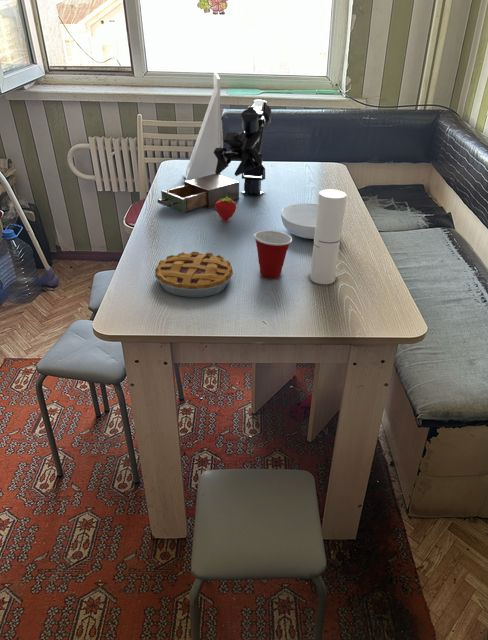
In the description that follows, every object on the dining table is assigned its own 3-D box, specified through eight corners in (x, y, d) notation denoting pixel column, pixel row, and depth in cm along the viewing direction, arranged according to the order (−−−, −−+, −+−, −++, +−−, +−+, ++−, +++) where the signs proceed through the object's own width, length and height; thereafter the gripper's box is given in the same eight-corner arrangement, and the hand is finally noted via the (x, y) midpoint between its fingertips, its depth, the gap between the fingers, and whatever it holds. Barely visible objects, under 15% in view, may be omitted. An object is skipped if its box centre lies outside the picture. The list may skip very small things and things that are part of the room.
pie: (163, 262, 157) (162, 246, 155) (236, 266, 157) (236, 250, 155) (147, 298, 140) (146, 281, 137) (230, 302, 140) (230, 285, 137)
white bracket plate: (183, 172, 230) (179, 69, 207) (216, 172, 232) (216, 70, 209) (185, 187, 214) (180, 77, 191) (220, 187, 216) (220, 78, 193)
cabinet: (208, 208, 196) (208, 190, 192) (185, 199, 203) (184, 181, 199) (238, 198, 206) (239, 181, 202) (215, 190, 213) (215, 173, 209)
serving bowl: (267, 232, 180) (268, 212, 176) (305, 217, 193) (307, 199, 189) (315, 251, 168) (317, 231, 164) (352, 234, 181) (355, 215, 177)
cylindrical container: (327, 286, 149) (339, 200, 135) (305, 279, 152) (314, 194, 138) (338, 277, 154) (350, 193, 140) (317, 270, 157) (326, 187, 143)
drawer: (174, 216, 186) (173, 202, 183) (152, 207, 192) (151, 193, 189) (214, 203, 198) (214, 190, 195) (193, 195, 204) (192, 182, 201)
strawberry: (214, 218, 188) (214, 190, 182) (236, 218, 189) (236, 190, 183) (214, 224, 183) (214, 196, 178) (236, 224, 184) (237, 196, 178)
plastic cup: (297, 275, 154) (300, 236, 148) (272, 286, 148) (274, 247, 141) (269, 262, 160) (271, 225, 153) (244, 273, 154) (245, 234, 147)
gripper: (217, 123, 188) (195, 155, 184) (257, 123, 177) (234, 157, 173) (232, 148, 196) (210, 179, 192) (271, 149, 185) (249, 182, 181)
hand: (225, 174), depth 184 cm, fingers open, 9 cm apart
